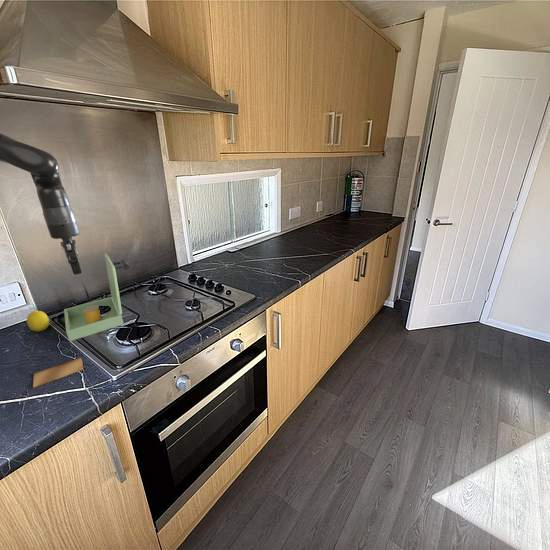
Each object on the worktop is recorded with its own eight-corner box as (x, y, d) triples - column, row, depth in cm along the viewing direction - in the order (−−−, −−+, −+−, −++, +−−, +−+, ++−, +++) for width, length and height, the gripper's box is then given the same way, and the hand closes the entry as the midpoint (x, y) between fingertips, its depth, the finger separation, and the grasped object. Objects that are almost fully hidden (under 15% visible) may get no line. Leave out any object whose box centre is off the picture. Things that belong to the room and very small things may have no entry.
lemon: (54, 331, 98) (46, 310, 95) (34, 338, 94) (24, 317, 91) (50, 325, 102) (42, 305, 98) (30, 332, 98) (21, 311, 95)
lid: (112, 267, 92) (132, 264, 95) (104, 253, 105) (122, 251, 108) (119, 314, 98) (138, 310, 101) (111, 295, 111) (127, 292, 114)
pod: (87, 326, 99) (83, 313, 97) (86, 320, 102) (82, 308, 100) (103, 321, 101) (99, 309, 99) (101, 316, 105) (97, 304, 103)
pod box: (70, 343, 91) (66, 331, 90) (67, 319, 105) (63, 309, 103) (124, 326, 100) (121, 315, 98) (115, 306, 113) (112, 296, 111)
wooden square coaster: (33, 387, 74) (33, 386, 74) (35, 364, 83) (34, 363, 82) (83, 369, 80) (83, 368, 80) (80, 349, 88) (79, 348, 88)
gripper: (46, 219, 93) (62, 266, 99) (45, 227, 82) (64, 279, 89) (74, 215, 97) (88, 261, 103) (76, 223, 86) (92, 273, 93)
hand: (77, 269), depth 96 cm, fingers open, 8 cm apart
